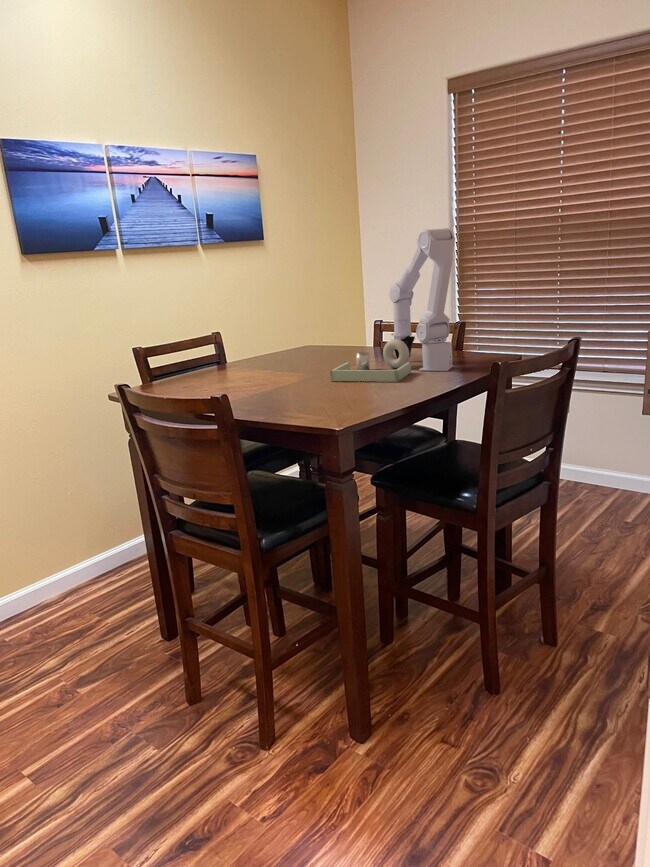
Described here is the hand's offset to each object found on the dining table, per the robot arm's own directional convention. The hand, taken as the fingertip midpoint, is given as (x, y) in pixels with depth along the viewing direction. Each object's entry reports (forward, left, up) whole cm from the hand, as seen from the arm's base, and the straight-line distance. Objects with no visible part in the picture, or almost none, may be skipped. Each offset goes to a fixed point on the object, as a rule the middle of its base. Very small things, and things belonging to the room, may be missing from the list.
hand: (403, 359), depth 227 cm
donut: (0, +9, -2) cm, 9 cm away
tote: (+4, +24, -2) cm, 24 cm away
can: (+11, +12, -2) cm, 16 cm away
